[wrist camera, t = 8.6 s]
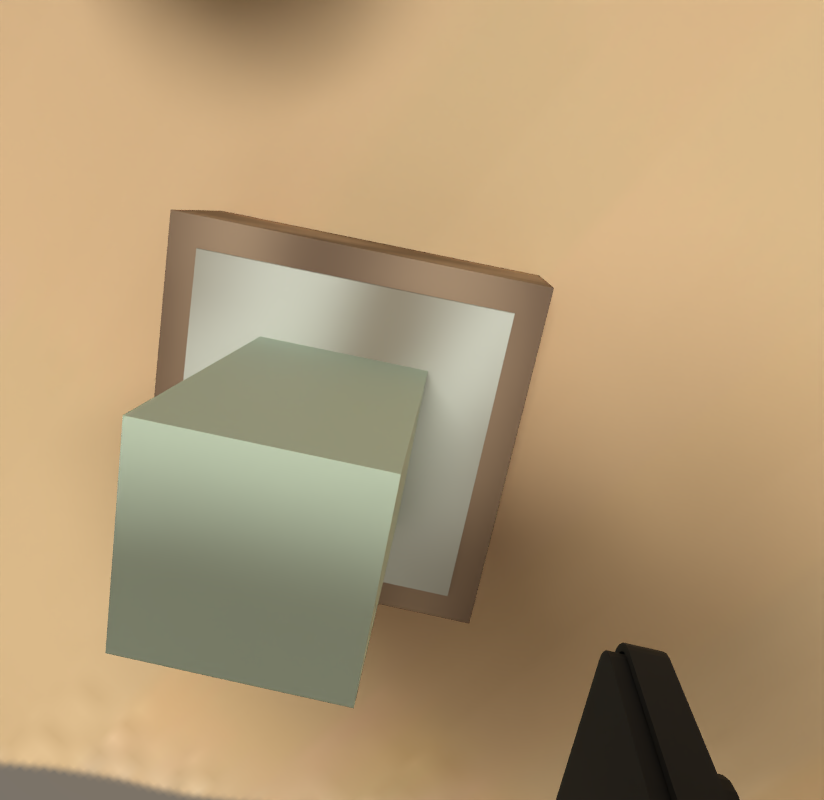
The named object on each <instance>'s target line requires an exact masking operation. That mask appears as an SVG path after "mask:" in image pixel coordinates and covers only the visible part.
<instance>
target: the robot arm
mask: <svg viewBox="0 0 824 800" xmlns="http://www.w3.org/2000/svg"><path fill="white" fill-rule="evenodd" d="M556 800H740V799H739V797H738V794H737V792H736V790H735V789H734V787H733V785H732V784H731V782H730V781H729V780H728V779H727V778H726V777H725V776H723V775H721V774H717V772H716V770H715V767H714V765H713V762H712V760H711V757H710V755H709V753H708V750H707V748H706V745H705V743H704V741H703V738H702V736H701V733H700V731H699V728H698V726H697V724H696V721H695V719H694V716H693V714H692V712H691V709H690V707H689V704H688V702H687V699H686V697H685V695H684V692H683V690H682V687H681V685H680V682H679V680H678V678H677V675H676V673H675V670H674V668H673V666H672V663H671V661H670V658H669V657H668V655H667V653H665V652H662V651H658V650H653V649H649V648H644V647H640V646H636V645H631V644H627V643H621V644H619V646H618V647H617V649H616V651H615V652H611V651H607V650H606V651H604V652H603V653H602V655H601V657H600V660H599V663H598V666H597V669H596V672H595V676H594V679H593V682H592V685H591V689H590V692H589V695H588V698H587V701H586V705H585V708H584V711H583V714H582V718H581V721H580V724H579V727H578V731H577V734H576V737H575V740H574V743H573V747H572V750H571V753H570V756H569V760H568V763H567V766H566V769H565V773H564V776H563V779H562V782H561V785H560V789H559V792H558V795H557V798H556Z"/></svg>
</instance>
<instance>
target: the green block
mask: <svg viewBox="0 0 824 800" xmlns="http://www.w3.org/2000/svg"><path fill="white" fill-rule="evenodd" d="M427 373H428V371H425V370H420V369H415V368H411V367H406V366H401V365H396V364H391V363H387V362H382V361H377V360H372V359H367V358H362V357H358V356H353V355H348V354H343V353H338V352H333V351H329V350H324V349H319V348H314V347H309V346H305V345H300V344H295V343H290V342H285V341H280V340H276V339H271V338H266V337H261V336H260V337H258V338H256V339H255V340H253V341H251V342H249V343H248V344H246V345H244V346H243V347H241V348H239V349H237V350H236V351H234V352H232V353H230V354H229V355H227V356H225V357H223V358H222V359H220V360H218V361H216V362H215V363H213V364H211V365H209V366H208V367H206V368H204V369H203V370H201V371H199V372H197V373H196V374H194V375H192V376H190V377H189V378H187V379H185V380H183V381H182V382H180V383H178V384H176V385H175V386H173V387H171V388H170V389H168V390H166V391H164V392H163V393H161V394H159V395H157V396H156V397H154V398H152V399H150V400H149V401H147V402H145V403H143V404H142V405H140V406H138V407H136V408H135V409H133V410H131V411H130V412H128V413H126V414H124V415H123V421H122V434H121V448H120V462H119V476H118V489H117V503H116V517H115V531H114V544H113V558H112V572H111V585H110V599H109V613H108V627H107V640H106V653H107V654H112V655H116V656H121V657H125V658H130V659H134V660H139V661H144V662H148V663H153V664H157V665H162V666H166V667H171V668H175V669H180V670H184V671H189V672H193V673H198V674H202V675H207V676H211V677H216V678H220V679H225V680H229V681H234V682H238V683H243V684H247V685H252V686H256V687H261V688H265V689H270V690H274V691H279V692H283V693H288V694H292V695H297V696H301V697H306V698H310V699H315V700H319V701H324V702H328V703H333V704H337V705H342V706H346V707H351V708H354V704H355V700H356V696H357V692H358V687H359V683H360V679H361V674H362V670H363V666H364V662H365V657H366V653H367V649H368V644H369V640H370V636H371V632H372V627H373V623H374V619H375V614H376V610H377V606H378V602H379V597H380V593H381V589H382V585H383V580H384V576H385V572H386V567H387V563H388V559H389V555H390V550H391V546H392V542H393V537H394V533H395V529H396V525H397V520H398V515H399V510H400V505H401V500H402V495H403V490H404V486H405V481H406V476H407V471H408V466H409V461H410V456H411V451H412V447H413V442H414V437H415V432H416V427H417V422H418V417H419V412H420V408H421V403H422V398H423V393H424V388H425V383H426V378H427Z"/></svg>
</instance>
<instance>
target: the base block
mask: <svg viewBox="0 0 824 800" xmlns="http://www.w3.org/2000/svg"><path fill="white" fill-rule="evenodd" d="M553 289H554V288H553V287H552V286H551V285H550V284H548V283H547V282H546V281H545V280H544V279H542V278H541V277H540V276H538V275H533V274H528V273H524V272H519V271H514V270H509V269H504V268H499V267H494V266H489V265H484V264H479V263H474V262H470V261H465V260H460V259H455V258H450V257H445V256H440V255H435V254H430V253H425V252H420V251H416V250H411V249H406V248H401V247H396V246H391V245H386V244H381V243H376V242H371V241H366V240H362V239H357V238H352V237H347V236H342V235H337V234H332V233H327V232H322V231H317V230H312V229H308V228H303V227H298V226H293V225H288V224H283V223H278V222H273V221H268V220H263V219H258V218H254V217H249V216H244V215H239V214H234V213H229V212H224V211H201V210H171V213H170V224H169V235H168V247H167V258H166V270H165V281H164V293H163V304H162V316H161V327H160V339H159V350H158V361H157V373H156V384H155V396H154V397H156V396H157V395H159V394H161V393H163V392H164V391H166V390H168V389H170V388H171V387H173V386H175V385H176V384H178V383H180V382H182V381H183V380H185V379H187V378H189V377H190V376H192V375H194V374H196V373H197V372H199V371H201V370H203V369H204V368H206V367H208V366H209V365H211V364H213V363H215V362H216V361H218V360H220V359H222V358H223V357H225V356H227V355H229V354H230V353H232V352H234V351H236V350H237V349H239V348H241V347H243V346H244V345H246V344H248V343H249V342H251V341H253V340H255V339H256V338H258V337H260V336H261V337H266V338H271V339H276V340H280V341H285V342H290V343H295V344H300V345H305V346H309V347H314V348H319V349H324V350H329V351H333V352H338V353H343V354H348V355H353V356H358V357H362V358H367V359H372V360H377V361H382V362H387V363H391V364H396V365H401V366H406V367H411V368H415V369H420V370H425V371H428V373H427V378H426V383H425V388H424V393H423V398H422V403H421V408H420V412H419V417H418V422H417V427H416V432H415V437H414V442H413V447H412V451H411V456H410V461H409V466H408V471H407V476H406V481H405V486H404V490H403V495H402V500H401V505H400V510H399V515H398V520H397V525H396V529H395V533H394V537H393V542H392V546H391V550H390V555H389V559H388V563H387V567H386V572H385V576H384V580H383V585H382V589H381V593H380V597H379V602H378V604H383V605H387V606H392V607H396V608H401V609H405V610H410V611H415V612H419V613H424V614H428V615H433V616H438V617H442V618H447V619H451V620H456V621H460V622H465V623H469V622H470V618H471V614H472V610H473V606H474V602H475V598H476V594H477V590H478V586H479V582H480V578H481V574H482V570H483V566H484V562H485V559H486V555H487V551H488V547H489V543H490V539H491V535H492V531H493V527H494V523H495V519H496V515H497V511H498V507H499V503H500V499H501V495H502V491H503V487H504V483H505V479H506V475H507V471H508V467H509V463H510V459H511V455H512V451H513V448H514V444H515V440H516V436H517V432H518V428H519V424H520V420H521V416H522V412H523V408H524V404H525V400H526V396H527V392H528V388H529V384H530V380H531V376H532V372H533V368H534V364H535V360H536V356H537V352H538V348H539V344H540V341H541V337H542V333H543V329H544V325H545V321H546V317H547V313H548V309H549V305H550V301H551V297H552V293H553Z"/></svg>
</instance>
